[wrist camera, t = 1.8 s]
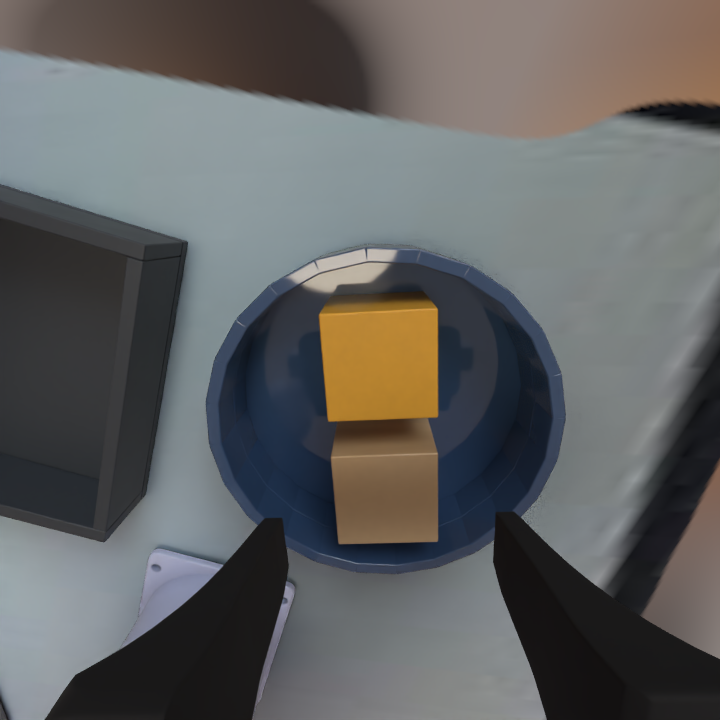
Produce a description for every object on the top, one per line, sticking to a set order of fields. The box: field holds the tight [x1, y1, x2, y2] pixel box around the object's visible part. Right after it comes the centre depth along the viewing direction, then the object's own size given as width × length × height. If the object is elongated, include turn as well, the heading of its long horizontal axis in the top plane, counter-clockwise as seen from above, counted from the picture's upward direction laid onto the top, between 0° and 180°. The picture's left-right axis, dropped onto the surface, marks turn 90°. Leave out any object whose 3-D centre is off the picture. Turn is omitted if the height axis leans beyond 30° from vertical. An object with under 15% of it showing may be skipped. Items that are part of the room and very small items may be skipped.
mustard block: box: [319, 291, 438, 422], centre depth 16 cm, size 4×4×4 cm
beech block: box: [331, 418, 438, 544], centre depth 18 cm, size 4×4×4 cm
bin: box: [0, 185, 188, 542], centre depth 18 cm, size 13×10×4 cm
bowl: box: [206, 244, 566, 574], centre depth 18 cm, size 13×13×4 cm
